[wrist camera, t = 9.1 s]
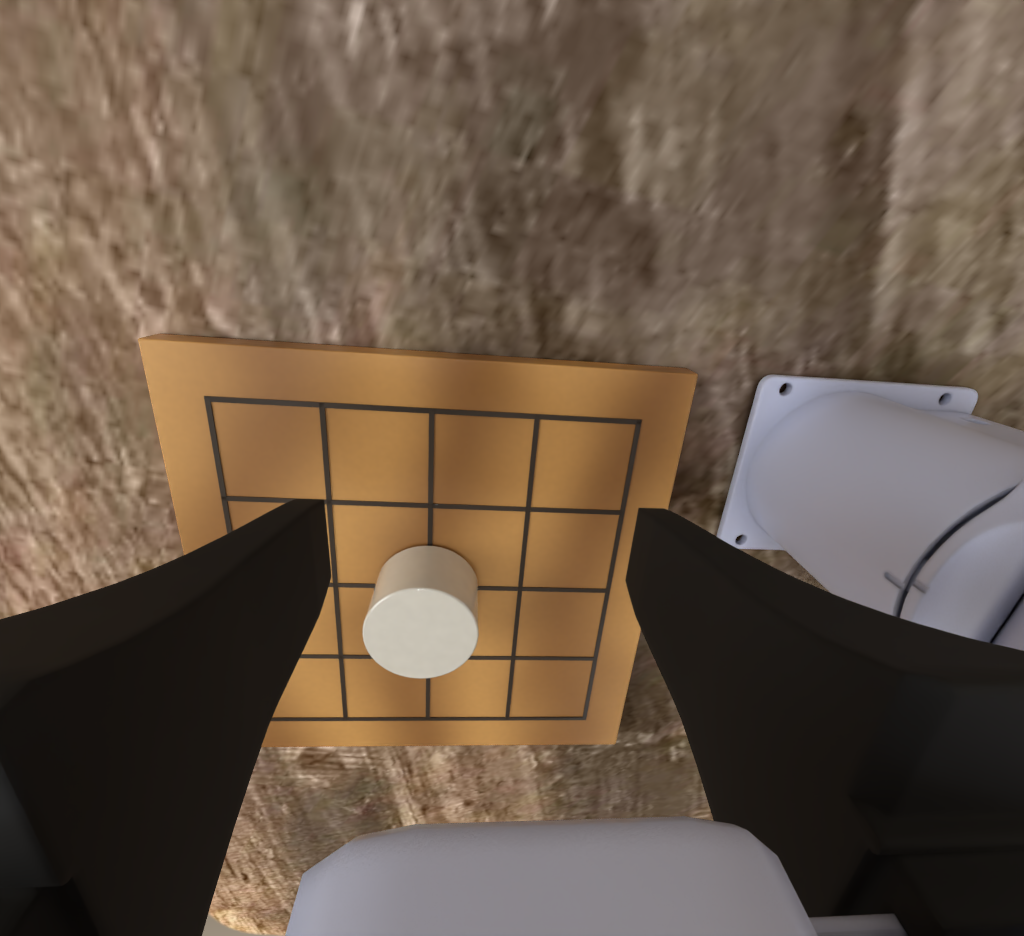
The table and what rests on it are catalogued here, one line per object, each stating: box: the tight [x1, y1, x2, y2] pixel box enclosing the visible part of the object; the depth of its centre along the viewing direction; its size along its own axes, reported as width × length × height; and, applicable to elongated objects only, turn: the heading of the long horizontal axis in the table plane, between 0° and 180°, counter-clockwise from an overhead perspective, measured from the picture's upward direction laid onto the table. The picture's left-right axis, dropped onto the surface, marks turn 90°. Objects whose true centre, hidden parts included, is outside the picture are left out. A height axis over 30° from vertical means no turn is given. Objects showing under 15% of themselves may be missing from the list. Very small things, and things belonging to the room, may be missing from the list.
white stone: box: [362, 546, 479, 679], centre depth 20 cm, size 4×4×3 cm
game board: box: [138, 334, 698, 747], centre depth 22 cm, size 20×20×1 cm
